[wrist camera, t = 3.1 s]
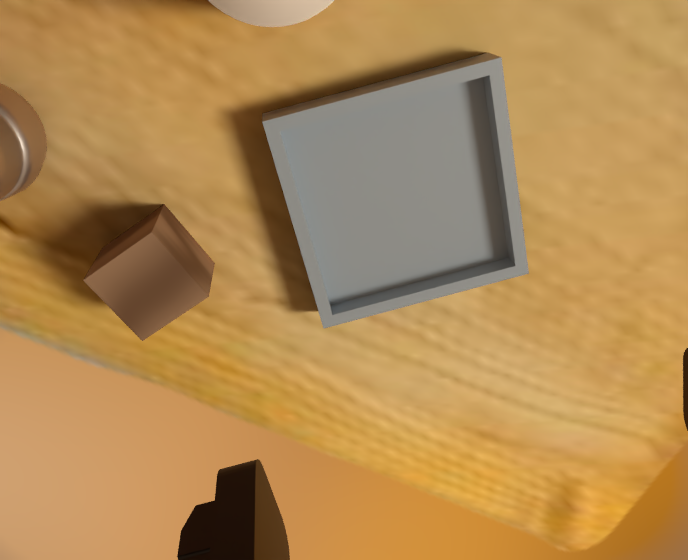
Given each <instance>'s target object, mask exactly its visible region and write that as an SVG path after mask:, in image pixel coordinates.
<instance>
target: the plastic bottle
mask: <svg viewBox="0 0 688 560" xmlns="http://www.w3.org/2000/svg"><path fill="white" fill-rule="evenodd" d="M46 151H47V140H46V134H45V130H44V127H43V124H42V122H41V120H40V118H39V116H38V115H37V113H36V112H35V110H34V109H33V107H32V106H31V105H30V104H29V103H28V102H27V101H26V100H25V99H24V98H23V97H22V96H21V95H19V94H18V93H17V92H15V91H14V90H13V89H11V88H9V87H7V86H5V85H3V84H1V83H0V201H1V200H5V199H7V198H9V197H11V196H13V195H15V194H17V193H19V192H21V191H23V190H25V189H26V188H27V187H28V186H30V185H31V184H32V183H33V182H34V180H35V179H36V177H37V176H38V175H39V172H40V170H41V167H42V165H43V162H44V160H45V157H46Z"/></svg>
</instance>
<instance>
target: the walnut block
mask: <svg viewBox="0 0 688 560" xmlns="http://www.w3.org/2000/svg"><path fill="white" fill-rule="evenodd" d="M214 264H215V263H214V262H213V261H212V259H211V258H210V257H209V256H208V255H207V254H206V252H205V251H204V250H203V249H202V248H201V247H200V245H199V244H198V243H197V242H196V241H195V240H194V238H193V237H192V236H191V235H190V234H189V232H188V231H187V230H186V229H185V228H184V227H183V225H182V224H181V223H180V222H179V221H178V220H177V218H176V217H175V216H174V215H173V214H172V213H171V211H170V210H169V209H168V208H167V207H166V206H165V204H164V205H162V206H161V207H159V208H158V209H157V210H155V211H154V212H152V213H151V214H150V215H148V216H147V217H145V218H144V219H143V220H141V221H140V222H138V223H137V224H135V225H134V226H133V227H131V228H130V229H128V230H127V231H126V232H124V233H123V234H121V235H120V236H119V237H117V238H116V239H114V240H113V241H111V242H110V243H109V244H107V245H106V246H104V247H103V248H102V250H101V251H100V253H99V255H98V256H97V258H96V260H95V261H94V263H93V265H92V266H91V268H90V270H89V271H88V273H87V275H86V276H85V278H84V280H83V281H84V282H85V283H86V284H87V285H88V286H89V287H90V288H91V289H92V290H93V291H94V292H95V293H96V294H97V295H98V296H99V297H100V298H101V299H102V300H103V301H104V302H105V303H106V304H107V305H108V306H109V307H110V308H111V309H112V310H113V311H114V312H115V314H116V315H117V316H118V317H119V318H120V319H121V320H122V321H123V322H124V323H125V324H126V325H127V326H128V327H129V328H130V329H131V330H132V331H133V332H134V333H135V334H136V335H137V336H138V337H139V338H140V339H141V340H142V341H143V340H145V339H146V338H148V337H149V336H151V335H152V334H154V333H155V332H157V331H158V330H160V329H161V328H163V327H164V326H165V325H167V324H168V323H170V322H171V321H173V320H174V319H176V318H177V317H179V316H180V315H182V314H183V313H185V312H186V311H188V310H189V309H191V308H192V307H194V306H195V305H197V304H198V303H200V302H201V301H203V300H204V299H206V298H207V297H209V292H210V286H211V281H212V275H213V270H214Z"/></svg>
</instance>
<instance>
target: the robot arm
mask: <svg viewBox="0 0 688 560" xmlns="http://www.w3.org/2000/svg"><path fill="white" fill-rule="evenodd" d="M683 412H684V420H685V424H686V427H687V430H688V348H687V349H686V350H685V352H684V356H683ZM177 557H178V560H290V558H289V557H290V556H289V546H288V540H287V535H286V530H285V526H284V523H283V519H282V516H281V514H280V511H279V508H278V506H277V503H276V500H275V498H274V495H273V492H272V490H271V487H270V484H269V482H268V479H267V476H266V474H265V471H264V468H263V466H262V464H261V462H260V461H259V460H258V459H257V460H254V461H250V462H246V463H242V464H238V465H235V466H231V467H227V468H224V469H220V470H219V471H218V474H217V483H216V494H215V501H211V502H208V503H204V504H200V505H196V506H195V508H194V510H193V511H192V513H191V515H190V516H189V518H188V520H187V522H186V523H185V525H184V527H183V528H182V530H181V535H180V542H179V549H178V556H177Z"/></svg>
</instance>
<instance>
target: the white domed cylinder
mask: <svg viewBox="0 0 688 560" xmlns="http://www.w3.org/2000/svg"><path fill="white" fill-rule="evenodd" d="M208 1H209V2H210V3H211V4H212V5H214V6H215V7H216V8H218V9H219V10H221V11H222V12H223V13H225V14H227V15H229V16H231V17H233V18H234V19H237V20H239V21H242V22H245V23H248V24H252V25H256V26H264V27H282V26H288V25H293V24H297V23H299V22H302V21H305V20H307V19H309V18H311V17H313V16H315V15H317V14H318V13H320V12H321V11H323V10H324V9H325V8H327V7H328V6H329V5H330V4H331V3H332V2H333V1H334V0H208Z"/></svg>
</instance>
